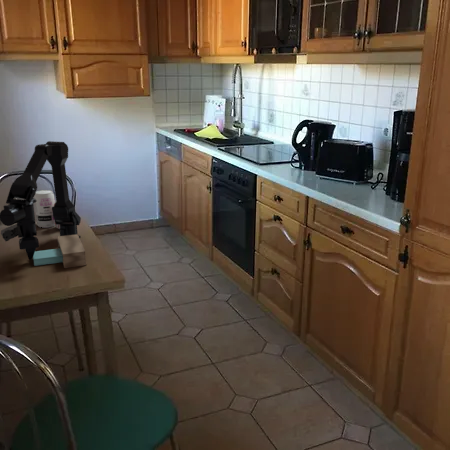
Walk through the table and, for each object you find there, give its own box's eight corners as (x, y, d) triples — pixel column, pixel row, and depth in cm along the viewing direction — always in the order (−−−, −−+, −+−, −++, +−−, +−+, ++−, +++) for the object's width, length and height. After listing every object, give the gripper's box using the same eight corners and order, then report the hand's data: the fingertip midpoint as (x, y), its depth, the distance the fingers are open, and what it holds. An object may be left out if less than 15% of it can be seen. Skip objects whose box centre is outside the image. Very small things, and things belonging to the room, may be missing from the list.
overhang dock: (64, 268, 180) (62, 254, 178) (58, 249, 197) (57, 236, 196) (86, 265, 183) (85, 251, 181) (78, 247, 200) (77, 234, 199)
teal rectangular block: (34, 265, 182) (33, 259, 181) (33, 258, 189) (32, 251, 188) (69, 261, 186) (69, 254, 185) (67, 253, 193) (66, 247, 192)
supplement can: (49, 221, 231) (45, 188, 227) (60, 224, 227) (57, 191, 222) (33, 225, 225) (29, 192, 221) (45, 229, 221) (41, 195, 216)
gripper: (1, 212, 185) (6, 253, 190) (0, 227, 169) (6, 272, 173) (34, 209, 189) (38, 250, 194) (36, 224, 173) (41, 267, 177)
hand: (30, 259), depth 184 cm, fingers closed, pressing on teal rectangular block
